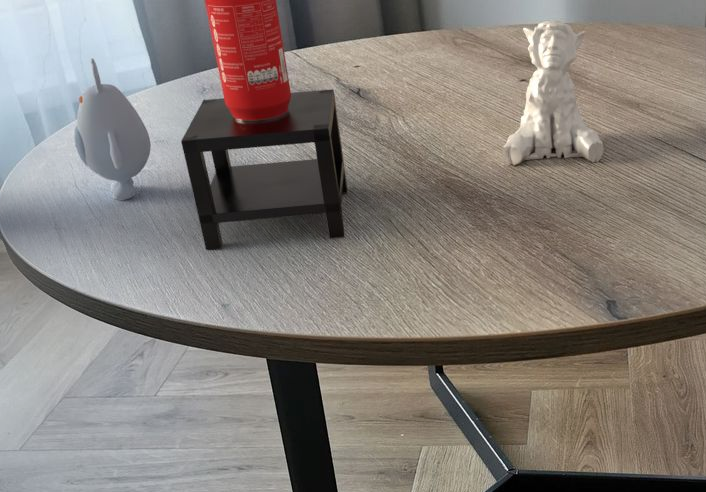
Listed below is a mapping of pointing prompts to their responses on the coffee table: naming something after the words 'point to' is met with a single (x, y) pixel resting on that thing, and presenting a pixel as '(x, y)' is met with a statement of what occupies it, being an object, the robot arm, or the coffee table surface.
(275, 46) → the beverage can
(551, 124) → the seated beast figurine
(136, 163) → the toy figure
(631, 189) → the coffee table surface
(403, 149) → the coffee table surface
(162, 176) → the coffee table surface
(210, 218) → the miniature side table
